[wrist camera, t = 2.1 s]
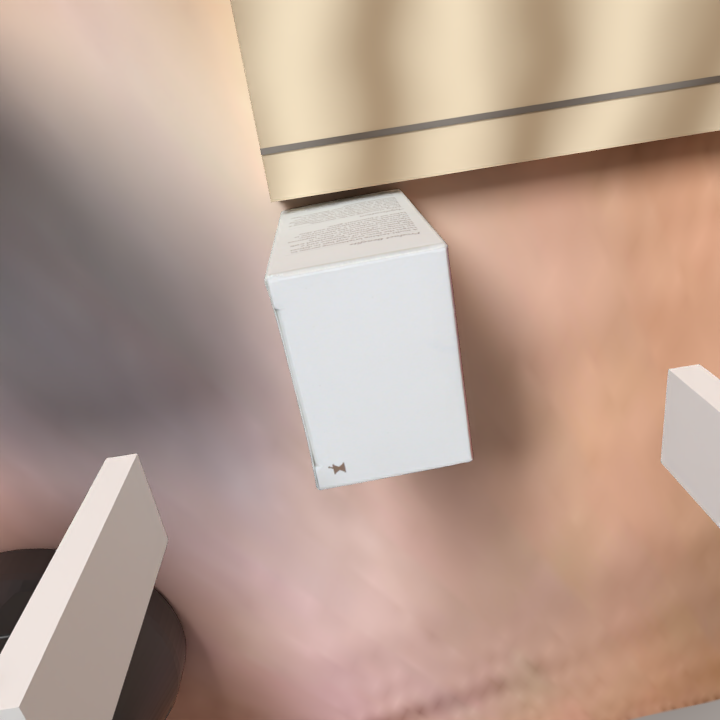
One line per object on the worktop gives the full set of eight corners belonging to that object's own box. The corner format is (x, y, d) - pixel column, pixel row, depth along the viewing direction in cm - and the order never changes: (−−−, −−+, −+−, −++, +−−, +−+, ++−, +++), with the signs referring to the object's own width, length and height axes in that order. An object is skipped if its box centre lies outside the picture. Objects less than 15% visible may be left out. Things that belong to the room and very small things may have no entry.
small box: (424, 346, 31) (477, 468, 21) (314, 367, 31) (317, 498, 21) (402, 183, 27) (453, 241, 18) (278, 207, 27) (261, 277, 18)
